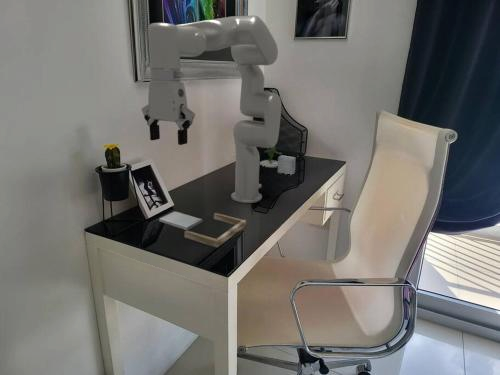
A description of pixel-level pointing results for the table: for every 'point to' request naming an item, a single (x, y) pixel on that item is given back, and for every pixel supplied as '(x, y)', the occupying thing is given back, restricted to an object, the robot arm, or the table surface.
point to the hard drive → (181, 220)
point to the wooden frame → (223, 238)
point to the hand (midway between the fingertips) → (168, 141)
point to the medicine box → (286, 164)
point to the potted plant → (270, 162)
